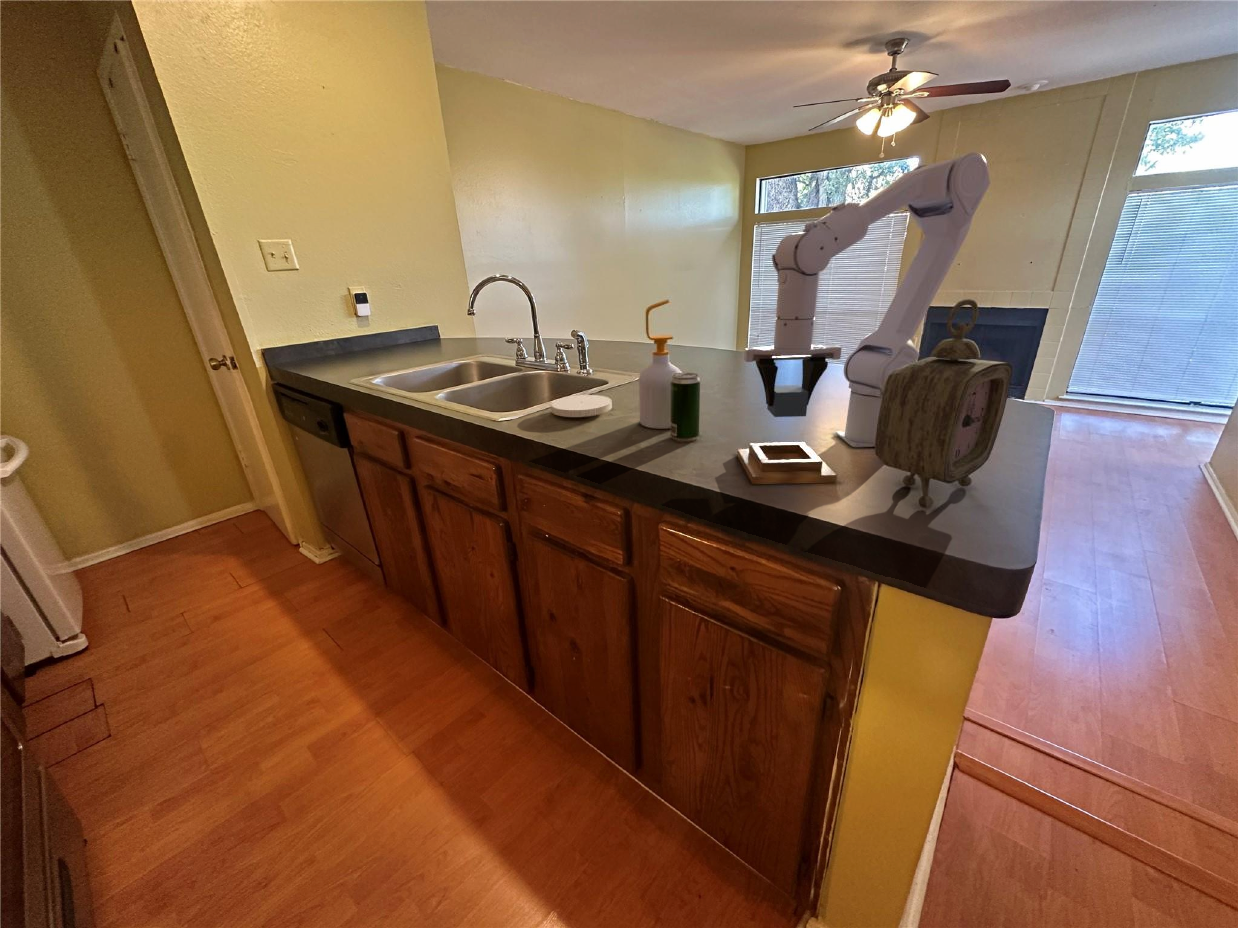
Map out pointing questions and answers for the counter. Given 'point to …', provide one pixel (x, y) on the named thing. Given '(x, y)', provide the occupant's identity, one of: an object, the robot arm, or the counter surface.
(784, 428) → the counter surface
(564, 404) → the plastic lid
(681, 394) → the beer can
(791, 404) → the dark gray block
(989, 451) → the tabletop clock
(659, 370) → the soap bottle
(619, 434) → the counter surface
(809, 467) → the base pad
